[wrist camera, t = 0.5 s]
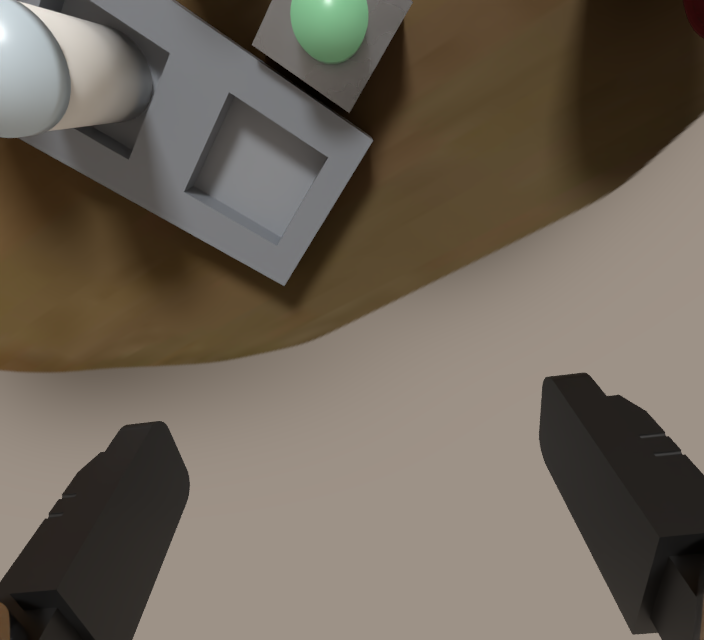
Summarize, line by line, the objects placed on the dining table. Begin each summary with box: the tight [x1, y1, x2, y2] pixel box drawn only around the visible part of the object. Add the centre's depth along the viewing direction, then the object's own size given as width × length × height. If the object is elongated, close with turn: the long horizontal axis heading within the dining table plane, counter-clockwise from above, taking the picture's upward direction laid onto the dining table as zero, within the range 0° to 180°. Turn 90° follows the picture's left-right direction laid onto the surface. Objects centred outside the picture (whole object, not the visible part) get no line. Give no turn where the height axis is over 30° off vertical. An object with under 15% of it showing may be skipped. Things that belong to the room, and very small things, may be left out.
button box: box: [252, 0, 413, 113], centre depth 24 cm, size 6×6×4 cm
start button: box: [290, 0, 368, 64], centre depth 21 cm, size 4×4×2 cm
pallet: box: [17, 0, 373, 286], centre depth 27 cm, size 11×20×3 cm, turn 58°
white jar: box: [0, 0, 152, 138], centre depth 22 cm, size 5×5×10 cm
